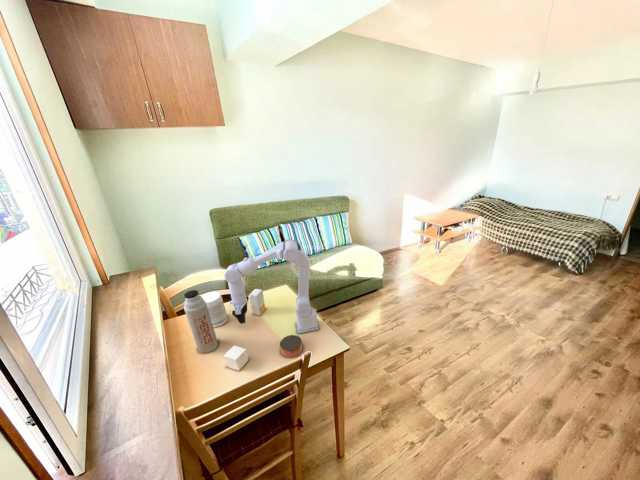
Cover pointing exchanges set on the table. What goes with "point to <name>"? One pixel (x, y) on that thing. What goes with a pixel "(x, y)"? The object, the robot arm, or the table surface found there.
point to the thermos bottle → (200, 322)
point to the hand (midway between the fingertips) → (243, 317)
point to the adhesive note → (236, 357)
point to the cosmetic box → (257, 301)
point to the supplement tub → (215, 308)
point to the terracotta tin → (291, 346)
